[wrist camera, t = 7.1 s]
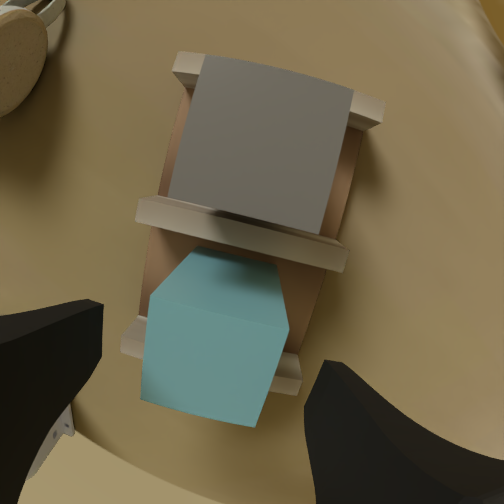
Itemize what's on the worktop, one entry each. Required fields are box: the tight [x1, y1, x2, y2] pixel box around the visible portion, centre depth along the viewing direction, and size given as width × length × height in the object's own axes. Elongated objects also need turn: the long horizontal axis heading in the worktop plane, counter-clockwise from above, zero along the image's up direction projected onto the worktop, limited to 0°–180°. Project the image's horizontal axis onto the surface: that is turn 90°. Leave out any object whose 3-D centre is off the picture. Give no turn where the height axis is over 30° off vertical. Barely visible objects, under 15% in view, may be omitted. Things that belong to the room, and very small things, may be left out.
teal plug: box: [140, 246, 289, 427], centre depth 12 cm, size 4×4×7 cm
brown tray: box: [120, 51, 386, 396], centre depth 14 cm, size 14×9×3 cm, turn 166°
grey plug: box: [167, 54, 354, 235], centre depth 11 cm, size 4×4×7 cm
